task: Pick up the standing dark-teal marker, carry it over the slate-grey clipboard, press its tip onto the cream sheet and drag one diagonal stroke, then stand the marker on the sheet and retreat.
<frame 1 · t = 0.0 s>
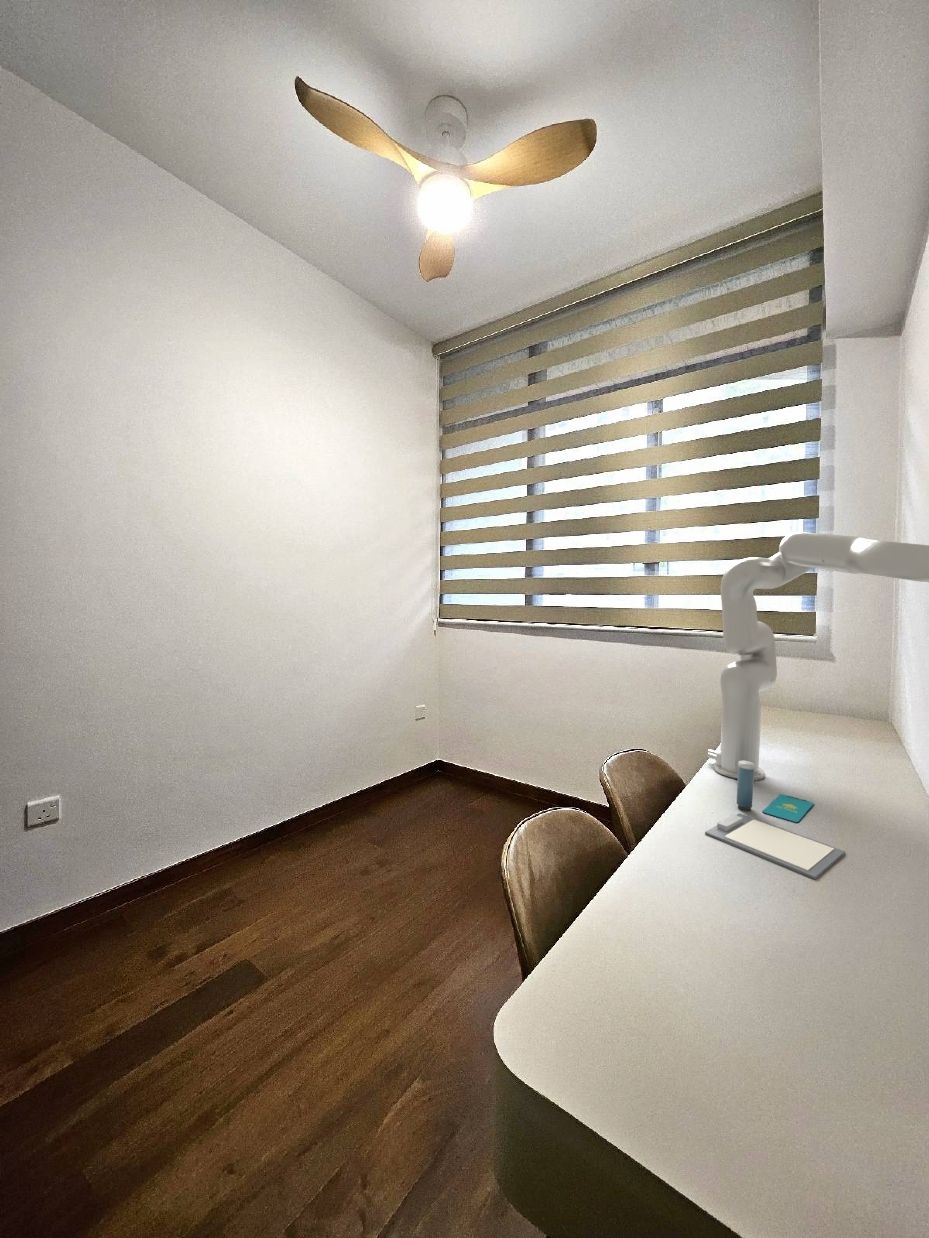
marker: (744, 808, 117), on the table
clipboard: (772, 843, 101), on the table
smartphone: (788, 810, 118), on the table
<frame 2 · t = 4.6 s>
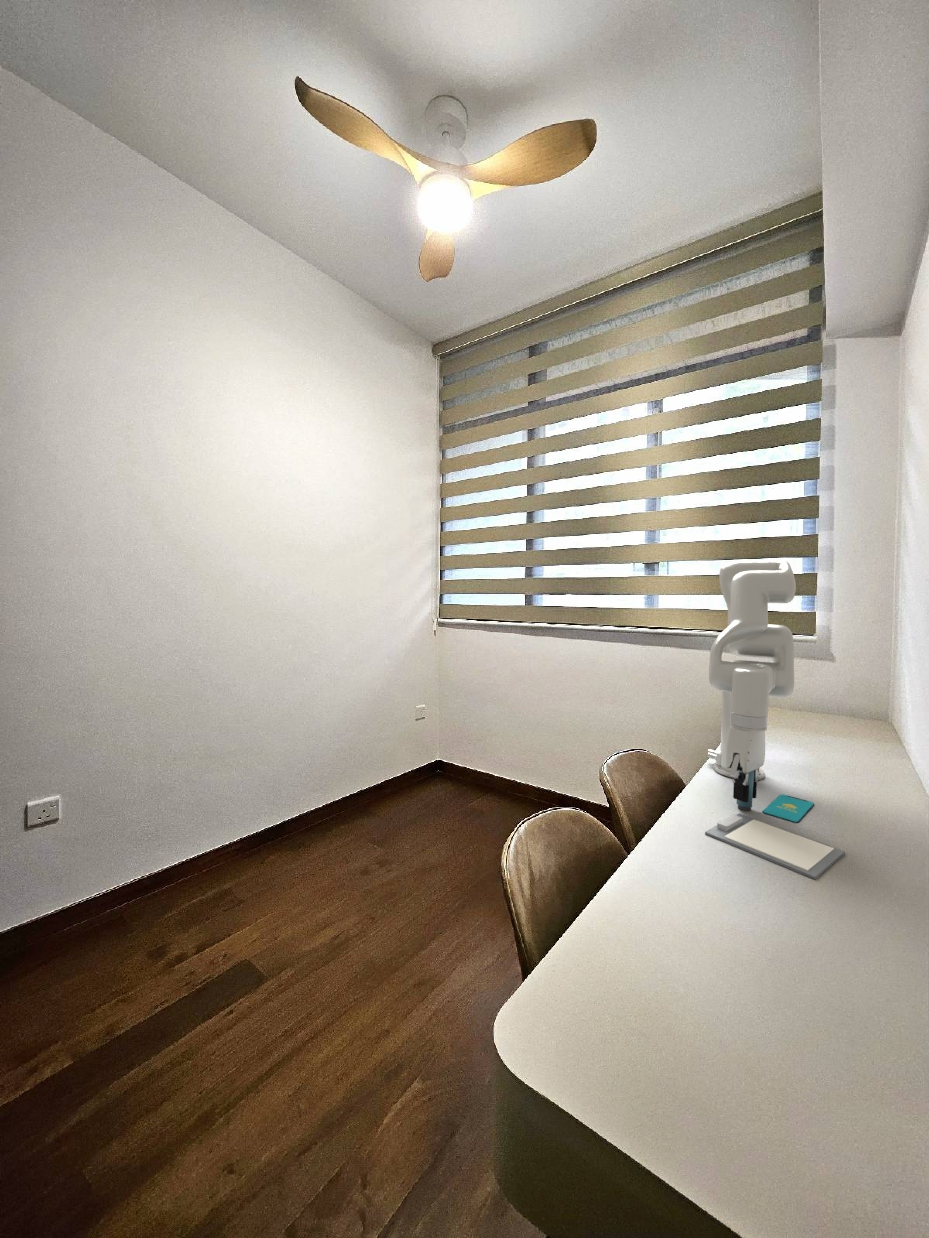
hand: (744, 797, 117), 3 cm above the table, fingers closed on marker, 3 cm apart
marker: (744, 808, 117), on the table, touching gripper
everything else where it was.
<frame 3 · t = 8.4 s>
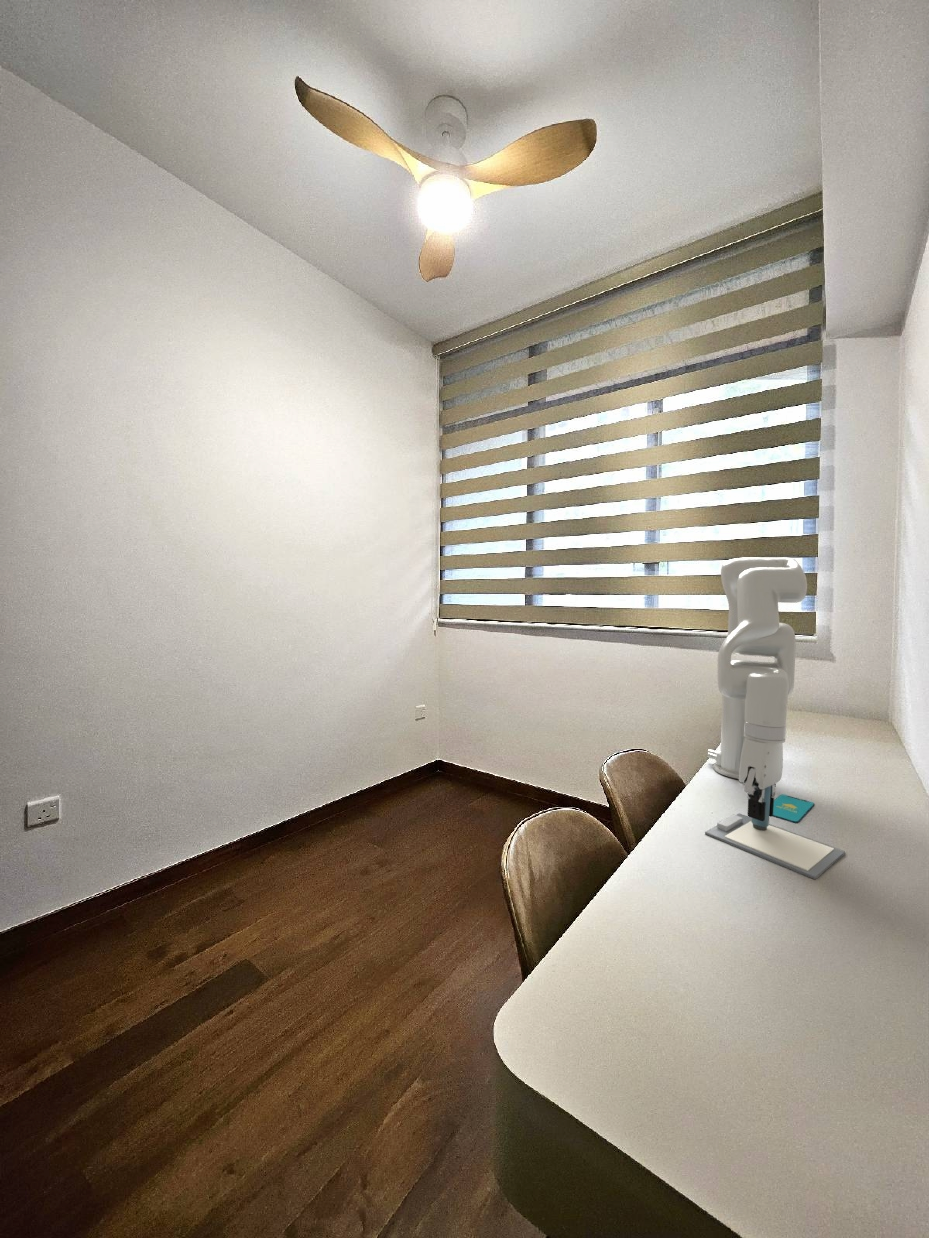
hand: (760, 815, 106), 3 cm above the table, fingers closed on marker, 3 cm apart
marker: (759, 827, 107), point 1 cm above the table, touching clipboard, gripper
everything else where it was.
when the fingers open (4 cm above the table, at t = 11.8 s): marker drops 1 cm, resting on clipboard.
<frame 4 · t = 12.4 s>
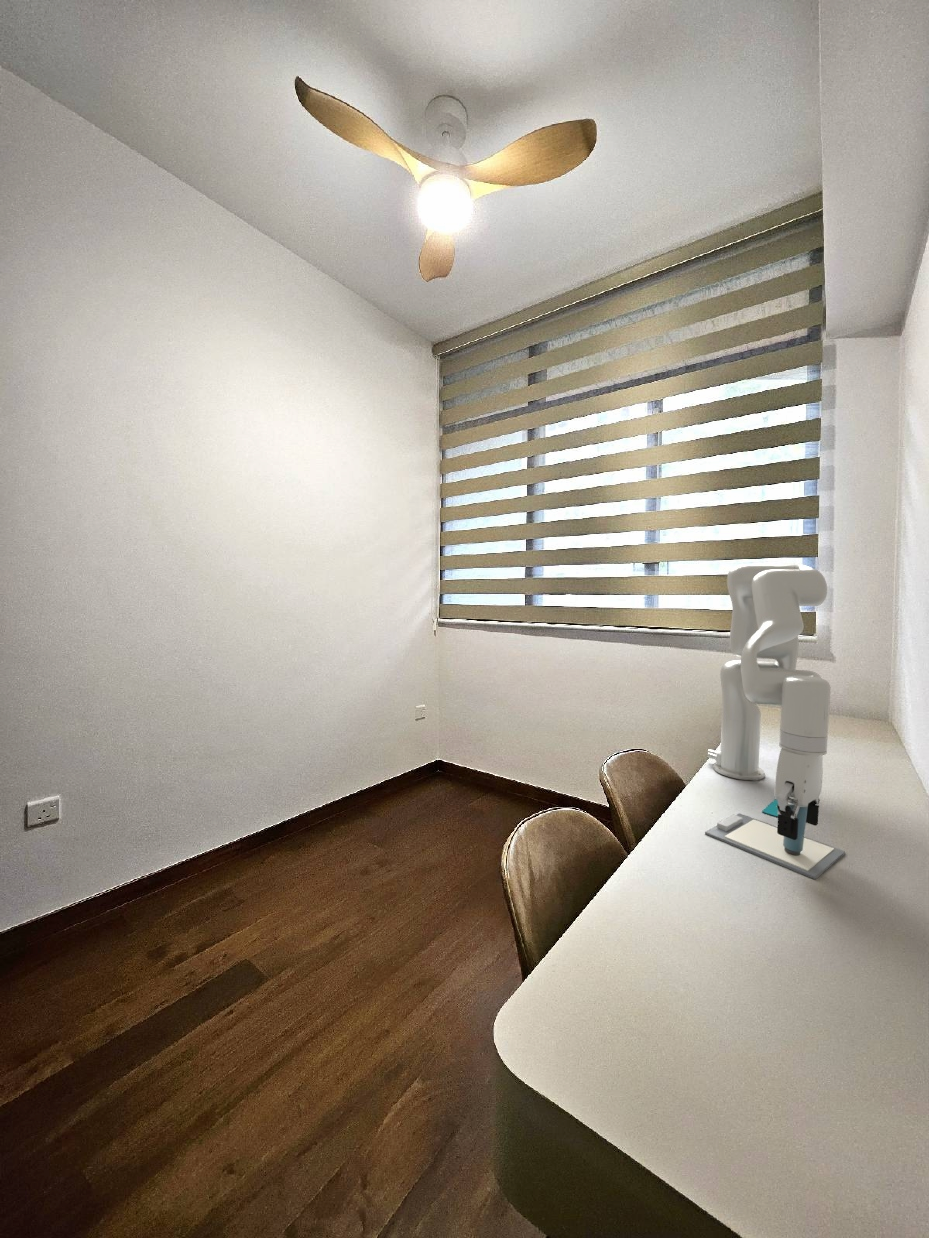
hand: (797, 829, 96), 6 cm above the table, fingers open, 9 cm apart
marker: (792, 851, 97), point 1 cm above the table, touching clipboard
everything else where it was.
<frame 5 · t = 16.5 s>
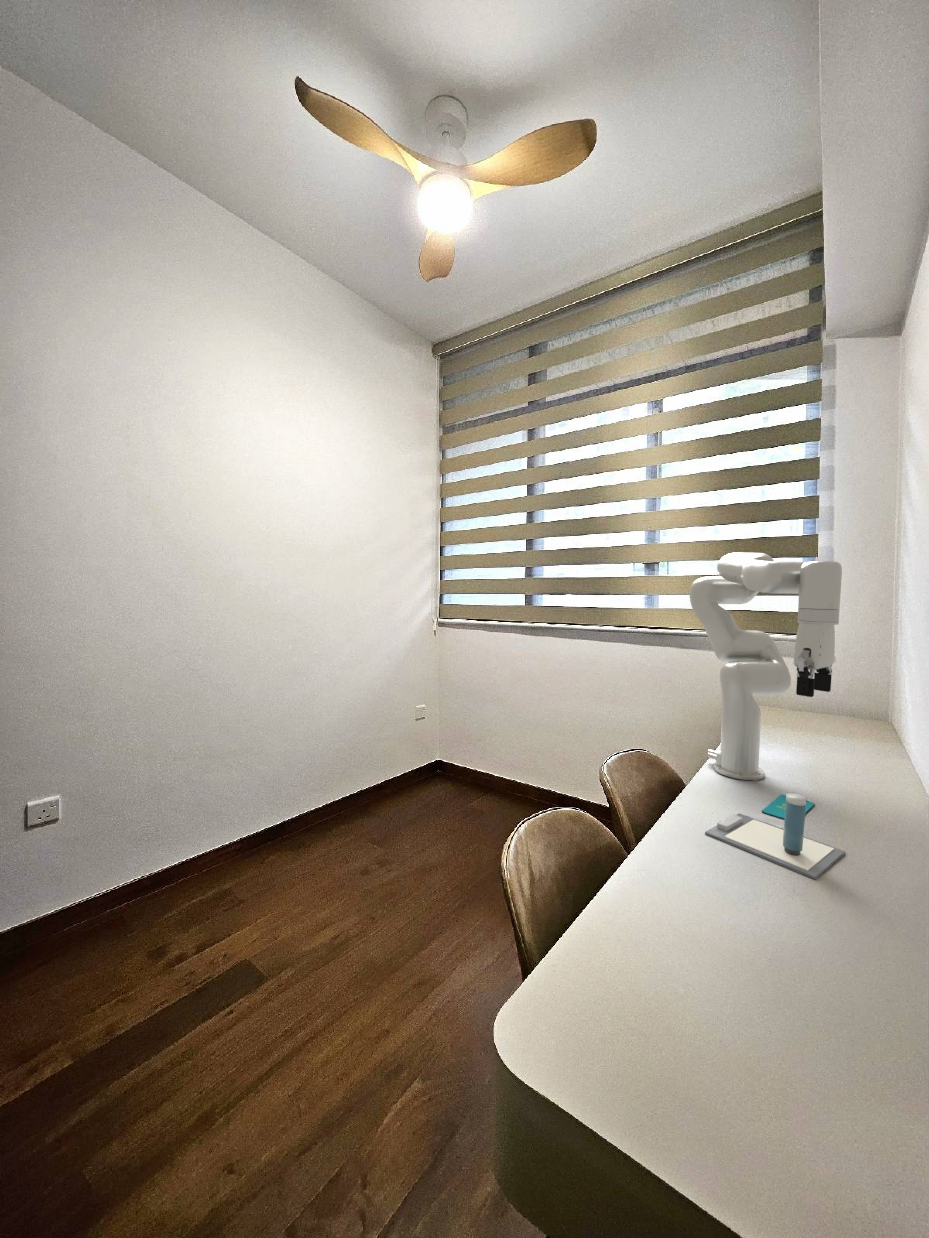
hand: (813, 693, 112), 28 cm above the table, fingers open, 9 cm apart
nothing on the table moved.
at the end: marker inside the target area on the clipboard (3.5 cm from its centre), point 0.7 cm above the clipboard's base; marker tilted 1°; marker moved 20.7 cm from its start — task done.
